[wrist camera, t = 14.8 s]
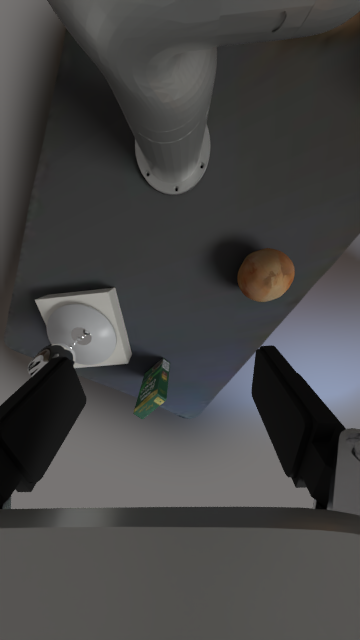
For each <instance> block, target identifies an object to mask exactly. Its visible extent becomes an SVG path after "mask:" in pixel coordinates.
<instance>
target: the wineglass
mask: <svg viewBox="0 0 360 640" xmlns="http://www.w3.org/2000/svg"><path fill="white" fill-rule="evenodd" d="M71 337H72V339H73V340H74V341H75V342H73V343H72V344H70V345H67V344H64V343H53V344H50V345H48V346H46V347H44V348H43V349H42V350H41V351H39V352H38V354H37V355H36V356H35V357H34V358H33V360H32V361H31V362H30V364H29V365H28V372H29V374H30V376H31V377H32V376H33V375H35V374H36V373H37V372H38V371H39V370H40V369H41V368H42V367H43V366H44V365H45V364H47V363H48V362H49V361H50V360H51V359H52V358H55V357H67V358H68V359H69V360H71V361H72V363H73V365H74V363H75V361H76V354H75V351H74V350H73V349H72V348H73V346H74V345H75V344H76V343H77V344H79V345H88V344H89V343H90V342H91V340H92V336H91V334H90V332H89V331H88V330H86V329H85V328H81V327H78V328H75V329H73V330H72V332H71Z"/></svg>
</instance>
